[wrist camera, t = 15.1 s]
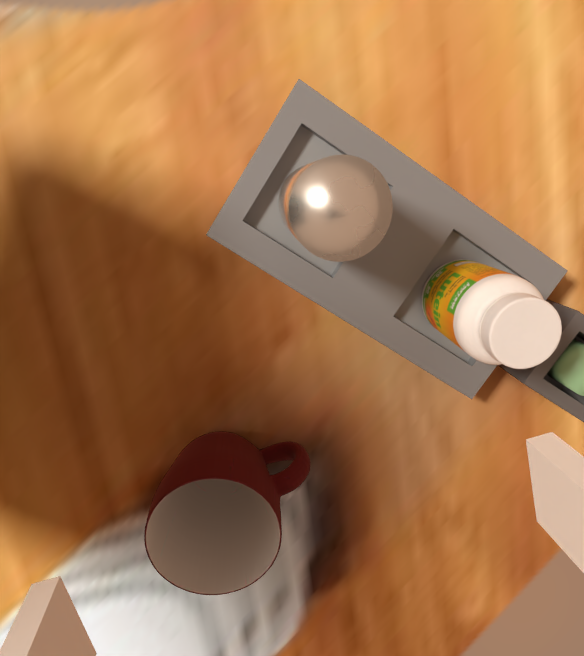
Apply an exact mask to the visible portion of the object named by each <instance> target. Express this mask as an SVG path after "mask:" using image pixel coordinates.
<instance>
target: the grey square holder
mask: <svg viewBox="0 0 584 656" xmlns="http://www.w3.org/2000/svg"><path fill="white" fill-rule="evenodd" d="M546 301H547V302H548V303H550V304H551V305H552V306H553V307H554V308H555V309H556V311H557V312H558V314H559V316H560V319H561V324H562V333H561V338H560V341H559V344H558V346H557V348H556V349H555V351H554V352H553V353H552V354H551V356H550V357H549V358H548V359H546V360H545V361H544V362H542V363H541V364H539V365H536V366H534V367H531V368H526V369H515V368H510V367H508V366H505V365H503V364H501V365H499V366H500V367H501V368H503V369H504V370H506V371H507V372H508V373H510V374H511V375H512V376H514V377H515V378H517V379H518V380H519V381H521V382H522V383H524V384H525V385H527V386H528V387H530V388H531V389H533V390H534V391H536V392H538V393H539V394H541V395H542V396H544V397H545V398H547V399H548V400H550V401H552V402H553V403H555V404H556V405H558V406H559V407H561V408H562V409H564V410H566V411H567V412H569V413H570V414H572V415H573V416H575V417H576V418H578V419H580V420H581V421H583V422H584V396H581V395H579V394H577V393H575V392H574V391H572V390H570V389H569V388H567V387H566V386H564V385H563V384H561V383H559V382H558V381H556V380H555V379H553V378H552V377H550V376H548V375H547V373H548V372H549V370H550V369H551V368H552V366H553V365H554V364H555V362H556V361H557V360H558V359H559V357H560V356H561V355H562V353H563V352H564V351H565V349H566V348H567V347H568V346H569V344H570V343H571V342H572V340H573V339H575V340H577V341H579V342H581V343H583V344H584V315H583V314H582V313H580V312H579V311H576V310H574V309H571V308H569V307H566V306H563V305H561V304H558V303H555V302H553V301H550V300H548V299H546Z"/></svg>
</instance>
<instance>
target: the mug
mask: <svg viewBox="0 0 584 656" xmlns="http://www.w3.org/2000/svg"><path fill="white" fill-rule="evenodd" d="M283 460H294V461H293V462H292V463H291V465H290V466H289V467H287V468H286V469H285V470H283V471H281V472H279V473H277V474H274V475H270V474H269V472H268V470H267V467H266V465H267V464H269V463H273V462H277V461H283ZM309 471H310V459H309V455H308V453H307V452H306V450H305V449H304V448H303V447H302V446H301V445H300V444H298V443H295V442H282V443H278V444H274V445H271V446H269V447H266V448H264V449H261V450H259V449H257V448H256V447H255V446H254V445H253V444H252V443H250V442H249V441H248V440H246V439H245V438H243V437H241V436H239V435H237V434H234V433H230V432H212V433H208V434H205V435H202V436H200V437H198V438H196V439H195V440H193V441H192V442H191V443H189V444H188V445H187V446H186V447H185V448H184V449H183V450H182V452H181V453H180V454H179V456H178V457H177V459H176V460H175V462H174V463H173V465H172V466H171V468H170V469H169V470H168V472H167V473H166V475H165V476H164V478H163V480H162V481H161V483H160V485H159V486H158V488H157V490H156V493H155V495H154V498H153V500H152V503H151V507H150V510H149V514H148V518H147V522H146V526H145V547H146V551H147V554H148V557H149V559H150V561H151V563H152V565H153V566H154V568H155V569H156V570H157V572H158V573H159V574H160V575H161V576H162V577H163V578H165V579H166V580H167V581H168V582H170V583H171V584H173V585H175V586H176V587H178V588H181V589H183V590H186V591H189V592H192V593H196V594H203V595H220V594H227V593H231V592H235V591H238V590H241V589H243V588H245V587H247V586H249V585H251V584H253V583H254V582H256V581H257V580H258V579H259V578H261V577H262V576H263V575H264V574H265V573H266V572H267V571H268V570H269V568H270V567H271V566H272V564H273V563H274V561H275V559H276V557H277V555H278V552H279V549H280V544H281V536H282V531H281V511H280V497H281V496H282V495H285V494H287V493H289V492H291V491H293V490H295V489H296V488H297V487H299V486H300V485H301V484H302V482H303V481H304V480H305V479H306V477H307V475H308V473H309Z"/></svg>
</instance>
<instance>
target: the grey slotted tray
mask: <svg viewBox="0 0 584 656" xmlns="http://www.w3.org/2000/svg"><path fill="white" fill-rule="evenodd" d="M333 155H352V156H356V157H359V158H361V159H364V160H366V161H367V162H369V163H371V164H372V165H373V166H374V167H376V168H377V169H378V170H379V171H380V172H381V174H382V175H383V177H384V178H385V180H386V182H387V183H388V186H389V188H390V191H391V195H392V202H393V212H392V219H391V222H390V226H389V228H388V230H387V232H386V234H385V236H384V238H383V239H382V240H381V242H380V243H379V244H378V245H377V246H376V247H375V248H374V249H373V250H371V251H370V252H369V253H367V254H366V255H364V256H362V257H360V258H358V259H354V260H351V261H345V262H335V261H328V260H324V259H322V258H319V257H317V256H315V255H314V254H312V253H311V252H309V251H308V250H307V249H306V248H305V247H304V246H303V245H302V244H301V243H300V242H299V241H298V240H297V239H296V238H295V236H294V235H293V234H292V233H291V232H290V231H289V230H288V228H287V227H286V226H285V224H284V223H283V221H282V219H281V217H280V213H279V208H278V198H279V193H280V189H281V187H282V185H283V183H284V181H285V180H286V178H287V177H288V176H289V175H290V174H291V173H292V172H293V171H294V170H296V169H298V168H299V167H302V166H304V165H307V164H309V163H312V162H315V161H317V160H320V159H322V158H325V157H329V156H333ZM206 235H207V236H208V237H210V238H212V239H213V240H215V241H217V242H218V243H220V244H221V245H223V246H225V247H226V248H228V249H229V250H231V251H233V252H234V253H236V254H238V255H239V256H241V257H242V258H244V259H246V260H247V261H249V262H251V263H252V264H254V265H255V266H257V267H259V268H260V269H262V270H263V271H265V272H267V273H268V274H270V275H272V276H273V277H275V278H276V279H278V280H280V281H281V282H283V283H284V284H286V285H288V286H289V287H291V288H293V289H294V290H296V291H297V292H299V293H301V294H302V295H304V296H305V297H307V298H309V299H310V300H312V301H314V302H315V303H317V304H318V305H320V306H322V307H323V308H325V309H327V310H328V311H330V312H331V313H333V314H335V315H336V316H338V317H339V318H341V319H343V320H344V321H346V322H348V323H349V324H351V325H352V326H354V327H356V328H357V329H359V330H360V331H362V332H364V333H365V334H367V335H369V336H370V337H372V338H373V339H375V340H377V341H378V342H380V343H381V344H383V345H385V346H386V347H388V348H390V349H391V350H393V351H394V352H396V353H398V354H399V355H401V356H403V357H404V358H406V359H407V360H409V361H411V362H412V363H414V364H415V365H417V366H419V367H420V368H422V369H424V370H425V371H427V372H428V373H430V374H432V375H433V376H435V377H436V378H438V379H440V380H441V381H443V382H445V383H446V384H448V385H449V386H451V387H453V388H454V389H456V390H457V391H459V392H461V393H462V394H464V395H466V396H467V397H469V398H470V399H472V398H473V397H474V396H475V394H476V393H477V392H478V390H479V389H480V388H481V386H482V385H483V384H484V382H485V381H486V380H487V378H488V377H489V376H490V374H491V373H492V372H493V370H494V369H495V368H496V366H497V365H492V364H486V363H483V362H480V361H478V360H476V359H474V358H473V357H471V356H470V355H468V354H467V353H466V352H464V351H463V350H462V349H461V348H459V347H458V346H457V345H456V344H454V343H453V342H452V341H451V340H449V339H448V338H447V337H446V336H444V335H443V334H442V333H440V332H439V331H438V330H437V329H435V328H434V327H433V326H432V325H431V324H430V323H429V322H428V320H427V319H426V317H425V315H424V312H423V309H422V292H423V288H424V286H425V283H426V281H427V280H428V278H429V277H430V275H431V274H432V273H433V272H434V271H435V270H436V269H437V268H439V267H440V266H442V265H443V264H445V263H448V262H451V261H454V260H462V259H464V260H471V261H476V262H479V263H482V264H484V265H487V266H490V267H493V268H496V269H499V270H502V271H505V272H507V273H510V274H513V275H516V276H519V277H521V278H523V279H525V280H527V281H528V282H530V283H531V284H533V285H534V286H535V287H536V288H537V289H538V290H539V292H540V293H541V295H542V297H543V299H544V300H545V301H546V299H547V298H548V297H549V295H550V294H551V292H552V291H553V290H554V288H555V287H556V286H557V284H558V283H559V282H560V280H561V279H562V278H563V276H564V275H565V274H566V272H567V270H566V269H564V268H563V267H562V266H560V265H559V264H557V263H556V262H555V261H553V260H552V259H550V258H549V257H548V256H546V255H545V254H543V253H542V252H541V251H539V250H538V249H536V248H535V247H534V246H532V245H531V244H529V243H528V242H527V241H525V240H524V239H522V238H521V237H520V236H518V235H517V234H515V233H514V232H513V231H511V230H510V229H508V228H507V227H506V226H504V225H503V224H501V223H500V222H499V221H497V220H496V219H494V218H493V217H492V216H490V215H489V214H487V213H486V212H485V211H483V210H482V209H480V208H479V207H478V206H476V205H475V204H473V203H472V202H471V201H469V200H468V199H466V198H465V197H464V196H462V195H461V194H459V193H458V192H457V191H455V190H454V189H452V188H451V187H450V186H448V185H447V184H445V183H444V182H443V181H441V180H440V179H438V178H437V177H436V176H434V175H433V174H431V173H430V172H429V171H427V170H426V169H424V168H423V167H422V166H420V165H419V164H417V163H416V162H415V161H413V160H412V159H410V158H409V157H408V156H406V155H405V154H403V153H402V152H401V151H399V150H398V149H396V148H395V147H394V146H392V145H391V144H389V143H388V142H387V141H385V140H384V139H382V138H381V137H380V136H378V135H377V134H375V133H374V132H373V131H371V130H370V129H369V128H367V127H366V126H364V125H363V124H362V123H360V122H359V121H357V120H356V119H355V118H353V117H352V116H350V115H349V114H348V113H346V112H345V111H343V110H342V109H341V108H339V107H338V106H336V105H335V104H334V103H332V102H331V101H329V100H328V99H327V98H325V97H324V96H322V95H321V94H320V93H318V92H317V91H315V90H314V89H313V88H311V87H310V86H308V85H307V84H306V83H304V82H303V81H301V80H300V79H299V80H298V81H297V83H296V85H295V86H294V88H293V90H292V91H291V93H290V95H289V96H288V98H287V100H286V101H285V103H284V105H283V106H282V108H281V110H280V111H279V113H278V115H277V116H276V118H275V120H274V122H273V123H272V125H271V127H270V128H269V130H268V132H267V133H266V135H265V137H264V138H263V140H262V142H261V143H260V145H259V147H258V148H257V150H256V152H255V153H254V155H253V157H252V158H251V160H250V162H249V164H248V165H247V167H246V169H245V170H244V172H243V174H242V175H241V177H240V179H239V180H238V182H237V184H236V185H235V187H234V189H233V190H232V192H231V194H230V195H229V197H228V199H227V200H226V202H225V204H224V206H223V207H222V209H221V211H220V212H219V214H218V216H217V217H216V219H215V221H214V222H213V224H212V226H211V227H210V229H209V231H208V232H207V234H206Z"/></svg>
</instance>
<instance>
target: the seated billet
mask: <svg viewBox="0 0 584 656" xmlns="http://www.w3.org/2000/svg"><path fill="white" fill-rule="evenodd" d="M278 208H279V213H280V217H281V219H282V221H283V223H284V224H285V226H286V227H287V228H288V230H289V231H290V232H291V233H292V234H293V235H294V236H295V238H296V239H297V240H298V241H299V242H300V243H301V244H302V245H303V246H304V247H305V248H306V249H307V250H308V251H309V252H311V253H312V254H314V255H315V256H317V257H319V258H322V259H324V260H328V261H335V262H345V261H351V260H354V259H358V258H360V257H362V256H364V255H366V254H367V253H369V252H370V251H371V250H373V249H374V248H375V247H376V246H377V245H378V244H379V243H380V242H381V240H382V239H383V238H384V236H385V234H386V232H387V230H388V228H389V226H390V222H391V219H392V212H393V202H392V195H391V191H390V188H389V186H388V183H387V182H386V180H385V178H384V177H383V175H382V174H381V172H380V171H379V170H378V169H377V168H376V167H374V166H373V165H372V164H371V163H369V162H367V161H366V160H364V159H361V158H359V157H356V156H352V155H333V156H329V157H325V158H322V159H320V160H317V161H315V162H312V163H309V164H307V165H304V166H302V167H299V168H298V169H296V170H294V171H293V172H292V173H291V174H290V175H289V176H288V177H287V178H286V180H285V181H284V183H283V185H282V187H281V189H280V193H279V198H278Z"/></svg>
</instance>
